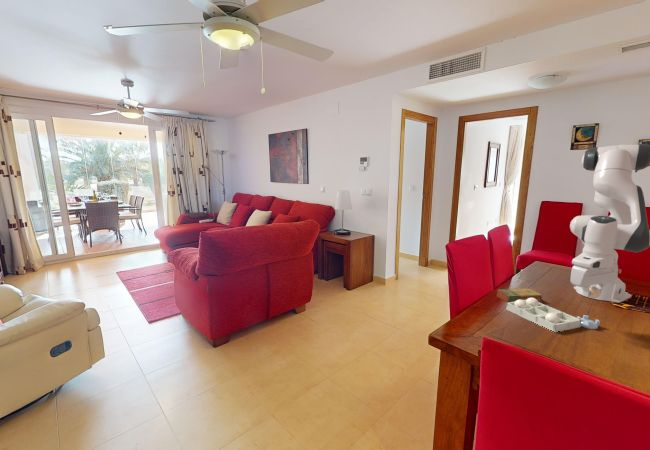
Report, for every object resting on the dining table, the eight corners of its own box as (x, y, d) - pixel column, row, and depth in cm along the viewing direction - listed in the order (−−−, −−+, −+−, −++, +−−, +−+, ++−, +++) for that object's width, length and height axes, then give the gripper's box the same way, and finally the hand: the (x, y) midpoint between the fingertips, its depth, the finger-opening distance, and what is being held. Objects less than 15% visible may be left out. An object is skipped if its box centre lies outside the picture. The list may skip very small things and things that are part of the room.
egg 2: (530, 305, 129) (531, 295, 128) (540, 309, 125) (542, 299, 124) (522, 306, 128) (523, 296, 127) (532, 310, 123) (534, 300, 123)
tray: (529, 305, 131) (530, 298, 130) (580, 327, 111) (581, 319, 111) (506, 309, 127) (506, 302, 126) (554, 332, 107) (555, 325, 107)
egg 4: (588, 294, 114) (590, 283, 113) (602, 299, 110) (604, 287, 109) (580, 296, 113) (582, 285, 112) (594, 301, 108) (596, 289, 108)
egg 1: (519, 307, 127) (520, 297, 126) (529, 311, 123) (530, 301, 122) (511, 308, 126) (512, 298, 125) (521, 313, 121) (522, 302, 121)
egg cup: (583, 320, 116) (584, 314, 116) (601, 327, 111) (602, 321, 110) (573, 322, 115) (574, 316, 114) (590, 330, 109) (591, 323, 109)
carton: (541, 303, 133) (542, 294, 133) (507, 304, 133) (508, 295, 132) (527, 295, 142) (528, 287, 141) (496, 296, 141) (497, 288, 140)
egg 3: (550, 321, 115) (551, 310, 114) (562, 326, 110) (563, 315, 110) (541, 322, 113) (542, 311, 113) (553, 328, 109) (555, 317, 108)
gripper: (605, 254, 114) (600, 287, 117) (568, 260, 109) (564, 294, 111) (626, 258, 108) (620, 293, 111) (588, 265, 103) (582, 301, 105)
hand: (592, 294), depth 111 cm, fingers closed on egg 4, 5 cm apart
